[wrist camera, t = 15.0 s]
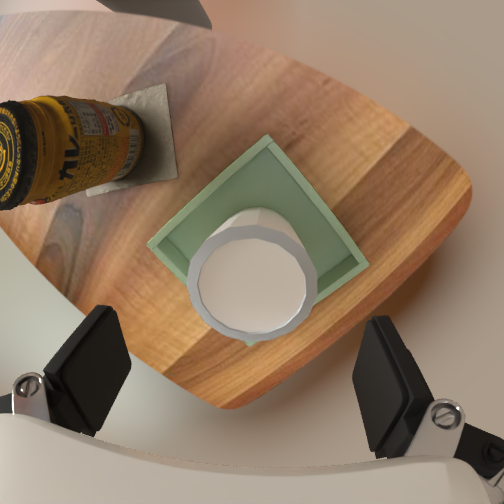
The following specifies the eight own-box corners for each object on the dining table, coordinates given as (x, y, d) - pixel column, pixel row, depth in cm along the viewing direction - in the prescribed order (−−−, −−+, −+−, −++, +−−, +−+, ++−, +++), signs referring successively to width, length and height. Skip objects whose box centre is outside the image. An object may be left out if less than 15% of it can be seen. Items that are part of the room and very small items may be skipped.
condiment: (75, 114, 19) (-39, 117, 8) (166, 83, 18) (64, 39, 7) (88, 196, 21) (-20, 245, 10) (179, 177, 20) (84, 220, 9)
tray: (157, 233, 22) (145, 244, 20) (267, 134, 19) (267, 133, 17) (251, 329, 25) (249, 347, 22) (360, 252, 22) (370, 265, 19)
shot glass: (253, 301, 23) (245, 360, 17) (192, 238, 22) (160, 280, 15) (323, 250, 21) (344, 297, 15) (263, 177, 20) (258, 195, 13)
